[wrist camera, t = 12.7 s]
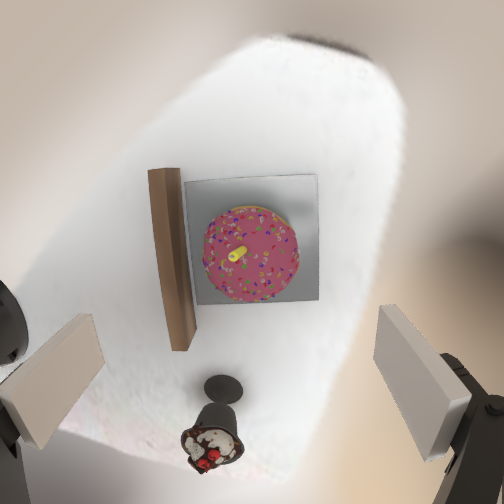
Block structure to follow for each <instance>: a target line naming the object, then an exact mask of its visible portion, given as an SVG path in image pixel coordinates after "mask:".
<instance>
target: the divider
mask: <svg viewBox="0 0 504 504" xmlns="http://www.w3.org/2000/svg"><path fill="white" fill-rule="evenodd" d="M148 180H149V192H150V203H151V213H152V223H153V232H154V240H155V248H156V256H157V263H158V270H159V277H160V284H161V291H162V297H163V303H164V309H165V315H166V320H167V326H168V331H169V337H170V342H171V347H172V351H187V350H188V348H189V346H190V343H191V341H192V339H193V336H194V334H195V332H196V329H197V327H196V320H195V313H194V306H193V298H192V291H191V283H190V274H189V266H188V257H187V248H186V239H185V229H184V218H183V207H182V195H181V183H180V169H179V168H161V169H152V170H148Z"/></svg>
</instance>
